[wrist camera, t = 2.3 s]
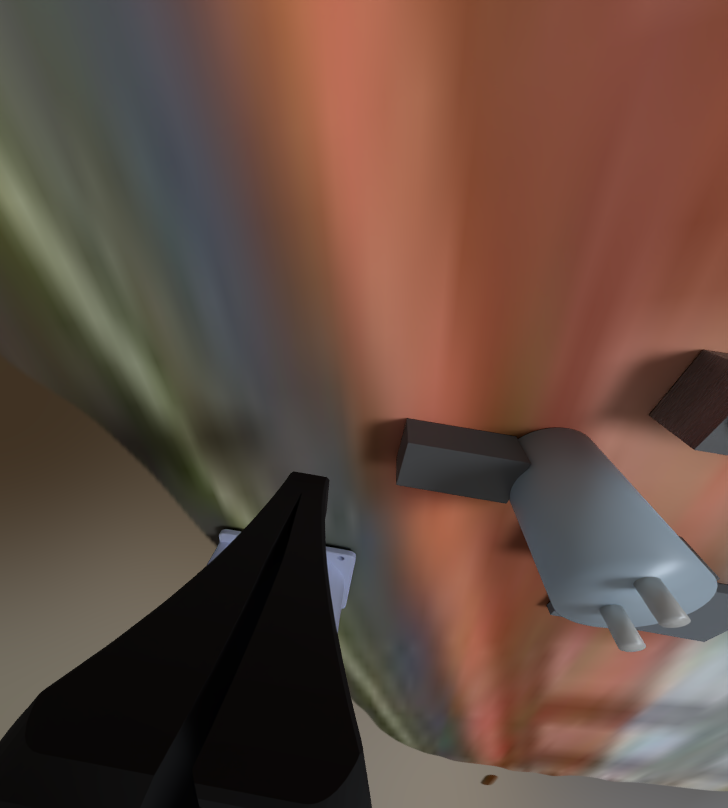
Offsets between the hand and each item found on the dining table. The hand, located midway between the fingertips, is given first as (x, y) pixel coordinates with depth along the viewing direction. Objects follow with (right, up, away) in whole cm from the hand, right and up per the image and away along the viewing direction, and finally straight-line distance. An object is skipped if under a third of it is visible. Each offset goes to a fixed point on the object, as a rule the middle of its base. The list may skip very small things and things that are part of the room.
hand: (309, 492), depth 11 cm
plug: (+9, +1, +3) cm, 9 cm away
